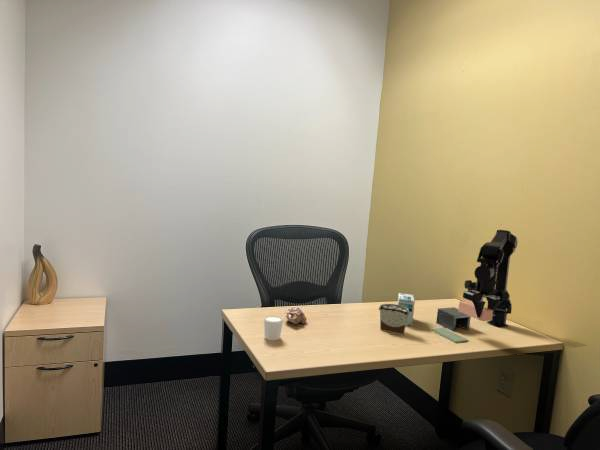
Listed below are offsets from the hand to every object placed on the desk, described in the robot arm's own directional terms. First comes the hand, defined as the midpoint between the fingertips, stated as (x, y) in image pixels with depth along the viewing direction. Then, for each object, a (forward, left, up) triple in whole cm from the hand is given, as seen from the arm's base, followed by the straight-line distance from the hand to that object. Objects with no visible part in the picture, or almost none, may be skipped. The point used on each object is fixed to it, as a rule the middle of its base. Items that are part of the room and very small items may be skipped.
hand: (483, 316), depth 180 cm
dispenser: (-2, -18, -10) cm, 20 cm away
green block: (+8, -9, -10) cm, 16 cm away
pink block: (0, -5, -1) cm, 5 cm away
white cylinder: (+78, -24, -10) cm, 82 cm away
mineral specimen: (+63, -37, -10) cm, 74 cm away
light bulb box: (+15, -29, -10) cm, 34 cm away
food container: (+27, -20, -10) cm, 35 cm away
